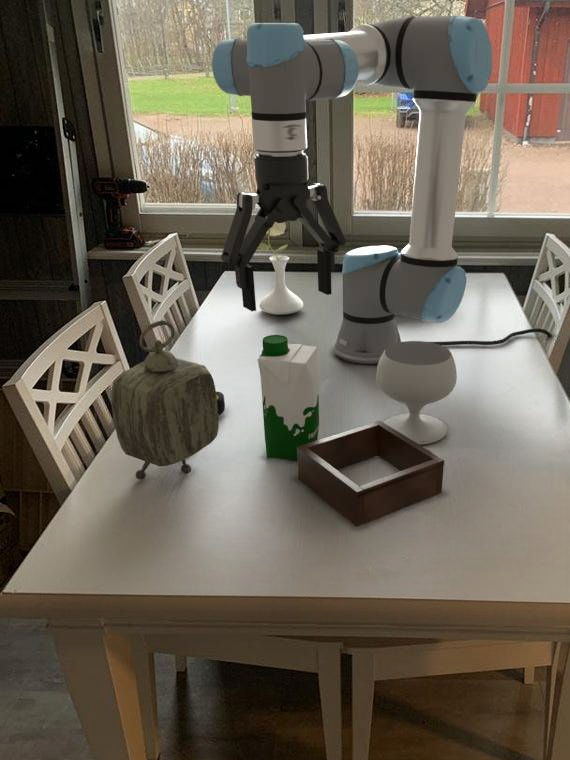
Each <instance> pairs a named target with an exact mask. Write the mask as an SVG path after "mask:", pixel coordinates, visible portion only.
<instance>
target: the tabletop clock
mask: <svg viewBox="0 0 570 760" xmlns="http://www.w3.org/2000/svg"><path fill="white" fill-rule="evenodd" d="M160 326H166V327H168V328H169V329H170V331H171V332H170V336H169V337H168V338H167V339H166V340H165V341H164V342H162V340H159V339H156V340H155V341H154V346H153V347H145V346H144V339H145V337H146V335H147V334H148V333H149V332H150V331H152V330H153V329H155V328H158V327H160ZM174 337H175V328H174V326H173V324H172V323H171V322H169V321H167V320H158V321H157V320H156V321H154V322H152V323H151V324H149V325H147V326H146V327H145V328H144V329H143V330H142V332H141V334H140V336H139V347H140V348H141V350H142V351H144V352H146V353H148V354H147V355H146V356H145V358H144V361H141V362H140V363H138V364H136V365H134V366H132V367H131V368H129V369H127V370H125V371H123V372H122V373H121V374H119V375H118V376H117V377H116V378H115V379H114V380H113V381H112V385H111V392H110V393H111V395H110V399H111V400H110V401H111V402H110V403H111V410H112V411H111V412H112V418H113V419H112V420H113V424H114V429H115V432H116V437H117V440H118V443H119V446H120V448H121V450H122V451H123V453H124V454H125V455H127V456H129V457H132V458H135V459H138V460H141V461H143V462H144V463H143V465H142V468H141V469H138V470H136V472H135V474H134V475H135V477H136V479H137V480H140V481H142V480H144V479H146V476H147V474H146V470H147V469H148V468H149V466H150V464H151V465H155V466H157V467H168V466H171V465H174V464H179V463H180V462H181V463H182V465H181V467H180V470H181V472H182V474H186V475H187V474H189V473H191V472H192V466H191V465H190V464H189V463H187V462H186V459H188V458H190V457H192V456H194V455H195V454H198V453H199V452H200V451H202V450H203V449H204V448H206V447H207V446H208V445H211V443H213V442H214V441H215V439H216V438H217V437H218V434H219V433H218V432H219V416H218V405H217V397H216V392H217V391H216V385H215V382H214V381H215V380H214V378H213V376H212V373H211V372H210V371H209V370H208V368H207V367H206V366H205V365H204V364H201V363H196V362H192V361H189V360H185V359H182V358H177V357H176V356H175V355H174V353H172V352H171V351H170V350H166V349H164V348H166V347H168V346H169V344H171V343H172V341H173V339H174Z"/></svg>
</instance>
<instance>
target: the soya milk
mask: <svg viewBox="0 0 570 760" xmlns="http://www.w3.org/2000/svg"><path fill="white" fill-rule="evenodd" d="M288 341H289V340H288V337H287V336H286V335H282V334H269V335H266V336H264V337H263V338H262V341H261V342H262V350H261V354H260V355H259V357H258V358H257V363H258V369H259V370H258V371H259V374H260V385H261V387H260V388H261V400H262V401H261V402H262V417H263V419H262V420H263V430H264V441H265V442H264V443H265V453H266V458H267V459H268V458H269V459H277V460H286V461H295V462H298V459H297V447H298V446H301V445H304V444H307V443H311V442H314V441H317V440H319V429H320V427H319V426H320V400H319V399H320V397H319V395H320V394H319V361H318V358H319V357H318V346H314V345H304V344H302V343H301V344H300V343H289V342H288Z"/></svg>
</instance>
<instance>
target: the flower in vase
mask: <svg viewBox="0 0 570 760" xmlns="http://www.w3.org/2000/svg"><path fill="white" fill-rule="evenodd" d="M256 215H257V213H256V214H255V216H256ZM255 216H254V217H255ZM266 218H267V216H266ZM286 228H287V223H286V222H284V223H276V222H275V223H274V225H273V226H272V227H271V228H269V229H268V231H267V233H266V235H267V242H268V243H265V242H262V241H261V243H260V245H259V246H258V248H257V250H261V251H264V252H268V251H270V250H271V251H272V253H273V254H274V255H272V256H270V257H268V259H269V261H270V262H271V263H272V266H273V269H274V274H275V286H274V288H273V289H272V290H271V291H269V292H268V294H267V295H265V296H264V297H263V298H262V299H261V300H260V302H259V309H260V310H261V311H263V313H264V312H265V313H268V314H270V315H276V316H277V315H278V316H279V315H282V316H283V315H290V314H291V315H292V314H295V313H297V312H299V311H301V310H302V309H303V308H304V302H303V300H302V299H301V298H300V297H299V296H297V295H296V294H295V293H293V292H292V291H291V290H290V289H289V288H288V287H287V285H286V279H285V273H286V267H287V263H288V261H289V260H290V257H289V256H287V255H277V253H281V252H283V251H284V250H285V249H287V247H288V245H289V243H287V244H286V245H285V244H284V245H282V246H280V247H278V248H277V249H276V250H274V248H273V247H272V246H271V242H270V237H277V236H281V235H283V234H285V233H286V232H285V231H286Z"/></svg>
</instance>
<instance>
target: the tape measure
mask: <svg viewBox="0 0 570 760" xmlns="http://www.w3.org/2000/svg"><path fill="white" fill-rule="evenodd" d="M216 397H217V405H218V417H219V416H220V415H222V414H223V413H224V412H225V410H226V408H225V407H226V402H225V395H224V393H222V392H221V391H216Z"/></svg>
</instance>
